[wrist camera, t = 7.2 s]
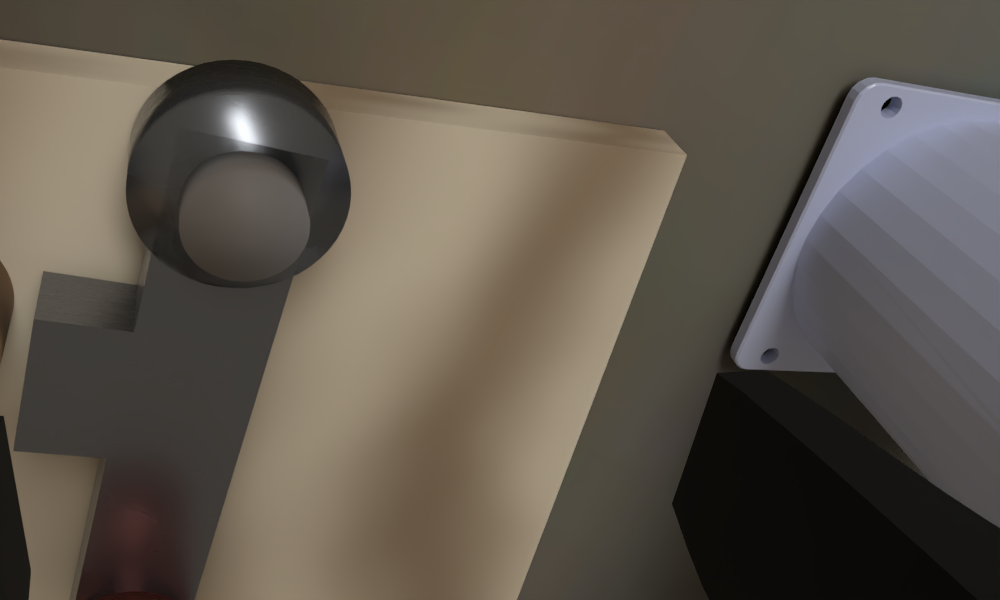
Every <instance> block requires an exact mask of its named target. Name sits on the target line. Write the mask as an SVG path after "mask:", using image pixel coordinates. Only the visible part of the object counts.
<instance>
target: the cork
mask: <svg viewBox="0 0 1000 600" xmlns="http://www.w3.org/2000/svg"><path fill="white" fill-rule="evenodd" d="M13 308H14V290H13V285H12V282H11V279H10V276H9V274H8V272H7V270H6V268H5V267H4V265H3V264H2V262H1V261H0V364H1V360H2V356H3V351H4V347H5V343H6V338H7V334H8V330H9V326H10V321H11V317H12V313H13Z"/></svg>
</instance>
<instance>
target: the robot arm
mask: <svg viewBox="0 0 1000 600" xmlns="http://www.w3.org/2000/svg"><path fill="white" fill-rule="evenodd" d="M891 97H892V98H891ZM889 98H891V102H890V103H889V105H888V106H887V107H886V108H885V109H883V110H882V111H881V108H882V105H883V104H884V103H885V101H886V100H888V99H889ZM768 349H769V351H768V352H766V353H764V352H765V351H766V350H768ZM763 353H764V354H763ZM730 355H731V358H732V359H733V361H734V362H735V363H736V365H737V366H738V367H740V368H742V369H749V370H763V371H746V372H729V373H717V375H716V378H715V381H714V383H713V386H712V389H711V392H710V395H709V398H708V401H707V404H706V407H705V410H704V413H703V415H702V418H701V421H700V424H699V427H698V430H697V433H696V436H695V439H694V442H693V445H692V447H691V450H690V453H689V456H688V459H687V462H686V465H685V468H684V471H683V474H682V476H681V479H680V482H679V485H678V488H677V491H676V494H675V497H674V500H673V503H672V505H673V508H674V511H675V513H676V516H677V519H678V522H679V525H680V528H681V531H682V534H683V536H684V539H685V542H686V545H687V548H688V550H689V553H690V556H691V558H692V561H693V563H694V566H695V568H696V571H697V573H698V576H699V579H700V581H701V584H702V586H703V588H704V590H705V592H706V594H707V596H708V598H709V600H1000V99H994V98H989V97H983V96H977V95H972V94H966V93H960V92H954V91H949V90H943V89H937V88H932V87H926V86H920V85H915V84H909V83H903V82H898V81H892V80H886V79H881V78H875V77H874V78H866V79H864V80H861V81H859V82H858V83H857V84H856V85H855V86H853V87H852V89H851V90H850V92H849V93H848V95H847V97H846V99H845V101H844V103H843V105H842V108H841V110H840V112H839V114H838V116H837V118H836V121H835V123H834V125H833V127H832V129H831V131H830V134H829V136H828V138H827V140H826V142H825V144H824V147H823V149H822V151H821V153H820V155H819V157H818V160H817V162H816V164H815V166H814V168H813V170H812V173H811V175H810V177H809V179H808V181H807V183H806V186H805V188H804V190H803V192H802V194H801V197H800V199H799V201H798V203H797V205H796V207H795V210H794V212H793V214H792V216H791V218H790V220H789V223H788V225H787V227H786V229H785V231H784V233H783V236H782V238H781V240H780V242H779V244H778V246H777V249H776V251H775V253H774V255H773V257H772V259H771V262H770V264H769V266H768V268H767V270H766V272H765V275H764V277H763V279H762V281H761V283H760V285H759V288H758V290H757V292H756V294H755V296H754V299H753V301H752V303H751V305H750V307H749V309H748V312H747V314H746V316H745V318H744V320H743V322H742V325H741V327H740V329H739V331H738V333H737V335H736V338H735V340H734V342H733V344H732V346H731V350H730ZM765 370H776V371H803V372H831V373H836V374H837V375H838V376H839V377H840V378H841V379H842V381H843V382H844V383H845V384H846V385H847V386H848V388H849V389H850V390H851V391H852V392H853V393H854V395H855V396H856V397H857V398H858V399H859V400H860V401H861V403H862V404H863V405H864V406H865V407H866V408H867V410H868V411H869V412H870V413H871V414H872V415H873V416H874V418H875V419H876V420H877V421H878V422H879V423H880V425H881V426H882V427H883V428H884V429H885V430H886V431H887V433H888V434H889V435H890V436H891V437H892V438H893V440H894V441H895V442H896V443H897V444H898V445H899V446H900V448H901V449H902V450H903V451H904V452H905V453H906V455H907V456H908V457H909V458H910V459H911V460H912V461H913V463H914V464H915V465H916V466H917V467H918V468H919V470H920V471H921V472H922V473H923V474H924V475H925V476H926V478H927V479H928V480H929V481H930V482H929V481H928V480H926V479H925V478H923V477H922V476H920V475H919V474H917V473H916V472H915V471H913V470H912V469H910V468H909V467H907V466H906V465H904V464H903V463H901V462H900V461H899V460H897V459H896V458H894V457H893V456H891V455H890V454H889V453H887V452H886V451H884V450H883V449H881V448H880V447H878V446H877V445H876V444H874V443H873V442H871V441H870V440H868V439H867V438H866V437H864V436H863V435H861V434H860V433H858V432H857V431H856V430H854V429H853V428H851V427H850V426H848V425H847V424H846V423H844V422H843V421H841V420H840V419H838V418H837V417H835V416H834V415H833V414H831V413H830V412H828V411H827V410H825V409H824V408H822V407H821V406H819V405H818V404H816V403H815V402H814V401H812V400H811V399H809V398H808V397H806V396H805V395H803V394H802V393H800V392H799V391H797V390H796V389H794V388H792V387H791V386H789V385H788V384H786V383H785V382H783V381H781V380H780V379H778V378H776V377H775V376H773V375H772V374H770V373H768V372H766V371H765ZM30 578H31V567H30V561H29V556H28V550H27V545H26V539H25V533H24V528H23V522H22V516H21V511H20V505H19V499H18V494H17V488H16V482H15V477H14V471H13V466H12V460H11V454H10V449H9V443H8V437H7V432H6V426H5V420H4V416H0V600H29V590H30Z"/></svg>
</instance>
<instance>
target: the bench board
mask: <svg viewBox="0 0 1000 600" xmlns="http://www.w3.org/2000/svg"><path fill="white" fill-rule="evenodd" d="M190 67H194V66H190V65H182V64H175V63H168V62H160V61H153V60H146V59H139V58H131V57H124V56H117V55H110V54H102V53H95V52H88V51H80V50H73V49H66V48H59V47H51V46H44V45H37V44H30V43H22V42H15V41H8V40H0V261H1V262H2V264H3V265H4V267H5V268H6V270H7V272H8V274H9V276H10V279H11V282H12V285H13V290H14V308H13V313H12V317H11V321H10V326H9V330H8V334H7V338H6V343H5V347H4V351H3V356H2V360H1V364H0V416H4V420H5V426H6V432H7V437H8V443H9V449H10V454H11V460H12V466H13V471H14V477H15V482H16V488H17V494H18V499H19V505H20V511H21V516H22V522H23V528H24V533H25V539H26V545H27V550H28V556H29V561H30V567H31V578H30V590H29V600H69V599H70V594H71V589H72V585H73V580H74V575H75V571H76V566H77V561H78V557H79V552H80V547H81V543H82V538H83V534H84V529H85V524H86V520H87V515H88V510H89V506H90V501H91V496H92V492H93V487H94V482H95V478H96V473H97V468H98V464H99V459H100V458H95V457H82V456H69V455H56V454H44V453H31V452H18V451H13V448H14V442H15V435H16V429H17V422H18V416H19V410H20V403H21V397H22V391H23V384H24V378H25V371H26V365H27V359H28V352H29V346H30V339H31V333H32V327H33V320H34V315H35V310H36V305H37V300H38V295H39V290H40V285H41V280H42V275H43V271H47V272H54V273H60V274H67V275H74V276H80V277H87V278H93V279H100V280H107V281H113V282H120V283H127V284H133V285H137V282H138V277H139V273H140V268H141V263H142V259H143V254H144V249H145V245H144V243H143V242H142V241H141V239H140V238H139V236H138V234H137V232H136V230H135V229H134V227H133V224H132V221H131V219H130V216H129V212H128V207H127V202H126V180H127V168H128V156H129V145H130V136H131V132H132V128H133V124H134V122H135V119H136V117H137V115H138V113H139V111H140V109H141V107H142V106H143V104H144V103H145V101H146V100H147V99H148V98H149V96H150V95H151V94H152V93H153V92H154V91H155V90H156V89H157V88H158V87H159V86H160V85H162V84H163V83H164V82H165V81H166V80H168V79H170V78H171V77H173V76H174V75H176V74H177V73H180V72H182V71H184V70H186V69H188V68H190ZM300 82H301V83H303V84H304V85H305V86H306V87H308V88H309V89H310V90H311V91H312V92H313V93H314V94H315V95H316V96H317V97H318V98H319V100H320V101H321V102H322V104H323V105H324V107H325V108H326V109H327V111H328V113H329V115H330V117H331V119H332V121H333V124H334V127H335V129H336V132H337V135H338V139H339V142H340V145H341V148H342V152H343V155H344V158H345V161H346V164H347V168H348V171H349V176H350V181H351V202H350V209H349V213H348V217H347V220H346V222H345V225H344V227H343V230H342V231H341V233H340V235H339V237H338V238H337V240H336V241H335V243H334V244H333V245H332V247H331V248H330V249H329V250H328V251H327V252H326V253H325V254H324V255H323V256H322V257H321V258H320V259H319V260H318V261H317V262H315V263H314V264H313V265H312V266H310V267H309V268H307V269H306V270H304V271H302V272H301V273H299V274H297V275H295V276H293V280H292V283H291V286H290V289H289V293H288V296H287V299H286V302H285V306H284V309H283V312H282V316H281V319H280V322H279V325H278V329H277V332H276V335H275V338H274V342H273V345H272V348H271V352H270V355H269V358H268V361H267V365H266V368H265V371H264V374H263V378H262V381H261V384H260V388H259V391H258V394H257V397H256V401H255V404H254V407H253V410H252V414H251V417H250V420H249V424H248V427H247V430H246V433H245V437H244V440H243V443H242V446H241V450H240V453H239V456H238V460H237V463H236V466H235V469H234V473H233V476H232V479H231V482H230V486H229V489H228V492H227V495H226V499H225V502H224V505H223V509H222V512H221V515H220V518H219V522H218V525H217V528H216V531H215V535H214V538H213V541H212V545H211V548H210V551H209V554H208V558H207V561H206V564H205V567H204V571H203V574H202V577H201V581H200V584H199V587H198V590H197V594H196V597H195V600H517V598H518V595H519V593H520V590H521V587H522V585H523V582H524V580H525V577H526V574H527V572H528V569H529V567H530V564H531V561H532V559H533V556H534V554H535V551H536V548H537V546H538V543H539V540H540V538H541V535H542V533H543V530H544V527H545V525H546V522H547V520H548V517H549V514H550V512H551V509H552V506H553V504H554V501H555V499H556V496H557V493H558V491H559V488H560V486H561V483H562V480H563V478H564V475H565V472H566V470H567V467H568V465H569V462H570V459H571V457H572V454H573V452H574V449H575V446H576V444H577V441H578V439H579V436H580V433H581V431H582V428H583V425H584V423H585V420H586V418H587V415H588V412H589V410H590V407H591V405H592V402H593V399H594V397H595V394H596V391H597V389H598V386H599V384H600V381H601V378H602V376H603V373H604V371H605V368H606V365H607V363H608V360H609V357H610V355H611V352H612V350H613V347H614V344H615V342H616V339H617V337H618V334H619V331H620V329H621V326H622V324H623V321H624V318H625V316H626V313H627V310H628V308H629V305H630V303H631V300H632V297H633V295H634V292H635V290H636V287H637V284H638V282H639V279H640V276H641V274H642V271H643V269H644V266H645V263H646V261H647V258H648V256H649V253H650V250H651V248H652V245H653V242H654V240H655V237H656V235H657V232H658V229H659V227H660V224H661V222H662V219H663V216H664V214H665V211H666V209H667V206H668V203H669V201H670V198H671V195H672V193H673V190H674V188H675V185H676V182H677V180H678V177H679V175H680V172H681V169H682V167H683V164H684V161H685V159H686V156H687V155H686V154H685V153H684V152H683V151H682V149H681V148H680V147H679V146H678V145H677V144H676V143H675V142H674V141H673V140H672V139H671V138H670V137H669V136H668V135H667V133H666V132H665V131H662V130H655V129H648V128H640V127H633V126H626V125H619V124H611V123H604V122H597V121H590V120H582V119H575V118H568V117H560V116H553V115H546V114H539V113H531V112H524V111H517V110H510V109H502V108H495V107H488V106H480V105H473V104H466V103H459V102H451V101H444V100H437V99H430V98H422V97H415V96H408V95H400V94H393V93H386V92H379V91H371V90H364V89H357V88H350V87H342V86H335V85H328V84H320V83H313V82H306V81H300ZM179 234H180V239H181V242H182V245H183V247H184V249H185V251H186V253H187V254H188V255H189V257H190V258H191V259H192V260H193V261H194V262H195V263H196V264H197V265H198V266H199V267H200V268H202V269H203V270H205V271H206V272H208V273H210V274H212V275H214V276H217V277H220V278H222V279H227V280H231V281H256V280H261V279H265V278H268V277H271V276H274V275H276V274H278V273H280V272H282V271H283V270H285V269H286V268H288V267H289V266H290V265H292V264H293V263H294V262H295V261H296V260H297V259H298V257H299V256H300V255H301V253H302V252H303V250H304V248H305V246H306V244H307V241H308V238H309V234H310V218H309V213H308V209H307V204H306V200H305V195H304V191H303V189H302V186H301V184H300V182H299V180H298V178H297V177H296V176H295V175H294V173H293V172H292V171H291V170H290V169H289V168H288V167H287V166H285V165H284V164H283V163H282V162H280V161H278V160H276V159H275V158H272V157H270V156H268V155H265V154H261V153H257V152H251V151H233V152H227V153H223V154H220V155H216V156H214V157H212V158H210V159H208V160H206V161H205V162H203V163H201V164H200V165H199V166H198V167H196V168H195V169H194V170H193V171H192V173H191V174H190V175H189V176H188V178H187V179H186V181H185V183H184V185H183V187H182V189H181V192H180V197H179Z"/></svg>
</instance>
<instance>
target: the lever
mask: <svg viewBox="0 0 1000 600" xmlns="http://www.w3.org/2000/svg"><path fill="white" fill-rule="evenodd" d="M233 151H251V152H257V153H261V154H265V155H268V156H270V157H272V158H275V159H276V160H278V161H280V162H282V163H283V164H284V165H285V166H287V167H288V168H289V169H290V170H291V171H292V172H293V173H294V175H295V176H296V177H297V178H298V180H299V182H300V184H301V186H302V189H303V191H304V195H305V200H306V204H307V209H308V213H309V218H310V234H309V238H308V241H307V244H306V246H305V248H304V250H303V252H302V253H301V255H300V256H299V257H298V259H297V260H296V261H295V262H294V263H293V264H292V265H290V266H289V267H288V268H286V269H285V270H283V271H282V272H280V273H278V274H276V275H274V276H271V277H268V278H265V279H261V280H256V281H231V280H227V279H222V278H220V277H217V276H214V275H212V274H210V273H208V272H206V271H205V270H203V269H202V268H200V267H199V266H198V265H197V264H196V263H195V262H194V261H193V260H192V259H191V258H190V257H189V255H188V254H187V253H186V251H185V249H184V247H183V245H182V242H181V239H180V234H179V197H180V192H181V189H182V187H183V185H184V183H185V181H186V179H187V178H188V176H189V175H190V174H191V173H192V171H193V170H194V169H195V168H196V167H198V166H199V165H200V164H201V163H203V162H205V161H206V160H208V159H210V158H212V157H214V156H216V155H220V154H223V153H227V152H233ZM126 202H127V207H128V212H129V216H130V219H131V221H132V224H133V227H134V229H135V230H136V232H137V234H138V236H139V238H140V239H141V241H142V242H143V243H144V245H145V249H144V254H143V259H142V263H141V268H140V273H139V277H138V282H137V285H133V284H127V283H120V282H113V281H107V280H100V279H93V278H87V277H80V276H74V275H67V274H60V273H54V272H47V271H43V275H42V280H41V285H40V290H39V295H38V300H37V305H36V310H35V315H34V320H33V327H32V333H31V339H30V346H29V352H28V359H27V365H26V371H25V378H24V384H23V391H22V397H21V403H20V410H19V416H18V422H17V429H16V435H15V442H14V448H13V451H18V452H31V453H44V454H56V455H69V456H82V457H95V458H100V459H99V464H98V468H97V473H96V478H95V482H94V487H93V492H92V496H91V501H90V506H89V510H88V515H87V520H86V524H85V529H84V534H83V538H82V543H81V547H80V552H79V557H78V561H77V566H76V571H75V575H74V580H73V585H72V589H71V594H70V599H69V600H195V597H196V594H197V590H198V587H199V584H200V581H201V577H202V574H203V571H204V567H205V564H206V561H207V558H208V554H209V551H210V548H211V545H212V541H213V538H214V535H215V531H216V528H217V525H218V522H219V518H220V515H221V512H222V509H223V505H224V502H225V499H226V495H227V492H228V489H229V486H230V482H231V479H232V476H233V473H234V469H235V466H236V463H237V460H238V456H239V453H240V450H241V446H242V443H243V440H244V437H245V433H246V430H247V427H248V424H249V420H250V417H251V414H252V410H253V407H254V404H255V401H256V397H257V394H258V391H259V388H260V384H261V381H262V378H263V374H264V371H265V368H266V365H267V361H268V358H269V355H270V352H271V348H272V345H273V342H274V338H275V335H276V332H277V329H278V325H279V322H280V319H281V316H282V312H283V309H284V306H285V302H286V299H287V296H288V293H289V289H290V286H291V283H292V280H293V276H295V275H297V274H299V273H301V272H302V271H304V270H306V269H307V268H309V267H310V266H312V265H313V264H314V263H315V262H317V261H318V260H319V259H320V258H321V257H322V256H323V255H324V254H325V253H326V252H327V251H328V250H329V249H330V248H331V247H332V245H333V244H334V243H335V241H336V240H337V238H338V237H339V235H340V233H341V231H342V230H343V227H344V225H345V222H346V220H347V217H348V213H349V209H350V202H351V181H350V176H349V171H348V168H347V164H346V161H345V158H344V155H343V152H342V148H341V145H340V142H339V139H338V135H337V132H336V129H335V127H334V124H333V121H332V119H331V117H330V115H329V113H328V111H327V109H326V108H325V107H324V105H323V104H322V102H321V101H320V100H319V98H318V97H317V96H316V95H315V94H314V93H313V92H312V91H311V90H310V89H309V88H308V87H306V86H305V85H304V84H303V83H301V82H300V81H299V80H297V79H296V78H294V77H292V76H291V75H289V74H287V73H285V72H283V71H281V70H279V69H277V68H274V67H271V66H268V65H265V64H262V63H256V62H251V61H243V60H221V61H214V62H208V63H203V64H200V65H197V66H194V67H190V68H188V69H186V70H184V71H182V72H180V73H177V74H176V75H174V76H173V77H171V78H170V79H168V80H166V81H165V82H164V83H163V84H162V85H160V86H159V87H158V88H157V89H156V90H155V91H154V92H153V93H152V94H151V95H150V96H149V98H148V99H147V100H146V101H145V103H144V104H143V106H142V107H141V109H140V111H139V113H138V115H137V117H136V119H135V122H134V124H133V128H132V132H131V136H130V145H129V156H128V168H127V180H126Z"/></svg>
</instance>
